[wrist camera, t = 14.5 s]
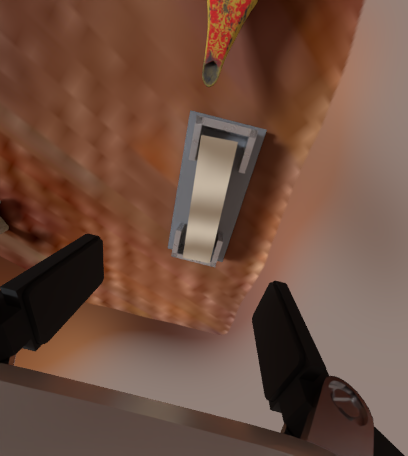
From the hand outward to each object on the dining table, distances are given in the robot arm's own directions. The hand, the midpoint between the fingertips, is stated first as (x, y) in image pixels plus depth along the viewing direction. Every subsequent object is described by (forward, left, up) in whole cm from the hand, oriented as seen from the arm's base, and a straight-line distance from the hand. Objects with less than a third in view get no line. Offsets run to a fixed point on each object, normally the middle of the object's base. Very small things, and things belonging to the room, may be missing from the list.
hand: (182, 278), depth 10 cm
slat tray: (0, 0, -20) cm, 20 cm away
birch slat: (0, 0, -18) cm, 18 cm away
